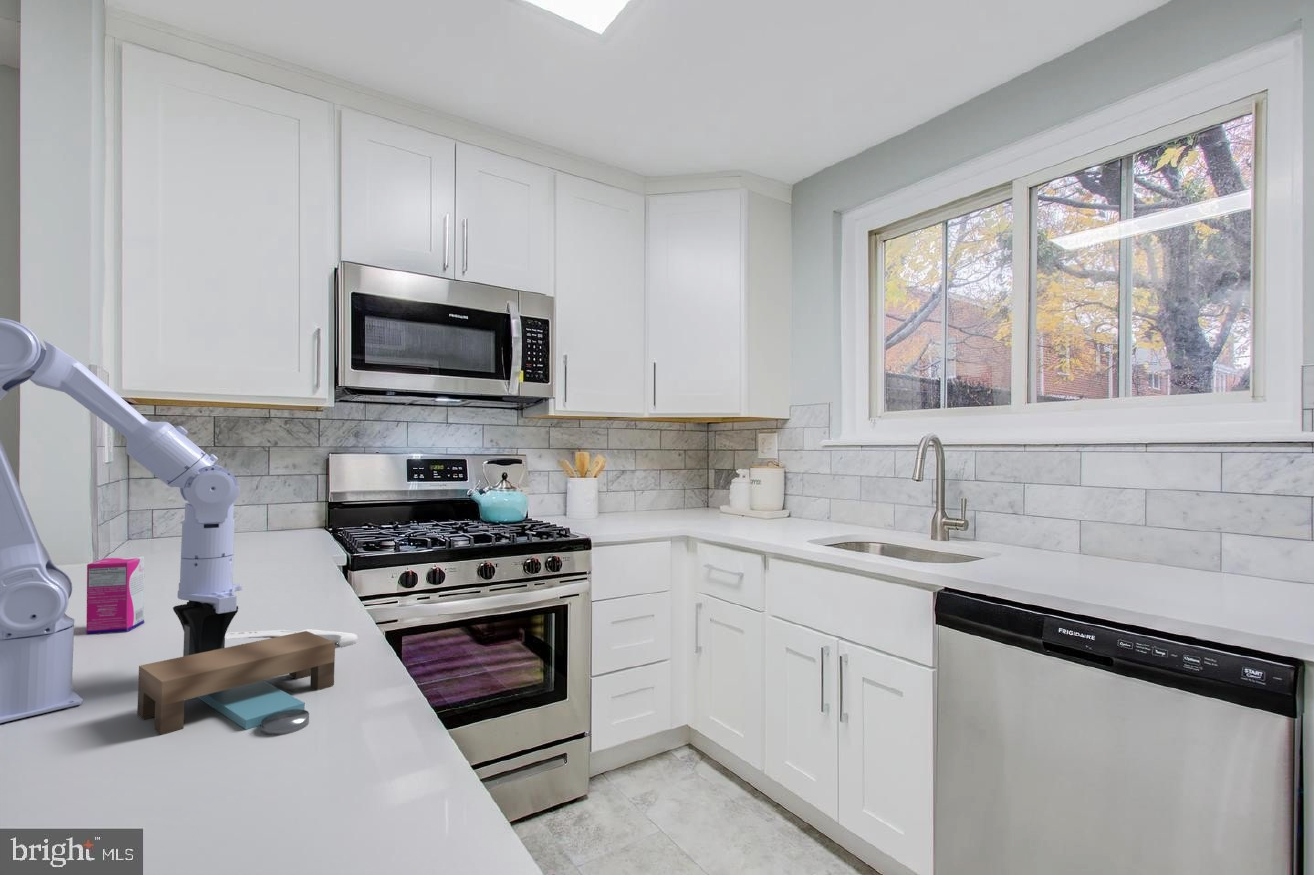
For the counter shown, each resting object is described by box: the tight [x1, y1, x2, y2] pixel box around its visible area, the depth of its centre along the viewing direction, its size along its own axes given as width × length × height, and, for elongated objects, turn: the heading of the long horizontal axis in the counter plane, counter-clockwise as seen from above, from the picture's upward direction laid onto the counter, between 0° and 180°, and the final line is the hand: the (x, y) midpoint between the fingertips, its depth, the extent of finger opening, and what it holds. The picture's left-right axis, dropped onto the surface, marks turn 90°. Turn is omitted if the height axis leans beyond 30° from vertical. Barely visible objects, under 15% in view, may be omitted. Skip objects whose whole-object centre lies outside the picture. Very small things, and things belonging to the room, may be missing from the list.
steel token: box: [260, 709, 310, 736], centre depth 68 cm, size 4×4×1 cm
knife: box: [225, 628, 358, 648], centre depth 99 cm, size 30×2×8 cm
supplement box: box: [85, 555, 146, 635], centre depth 103 cm, size 6×6×12 cm
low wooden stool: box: [136, 631, 336, 735], centre depth 75 cm, size 18×8×6 cm, turn 143°
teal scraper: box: [182, 624, 305, 730], centre depth 76 cm, size 6×23×7 cm, turn 53°
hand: (204, 658), depth 82 cm, fingers closed on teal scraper
